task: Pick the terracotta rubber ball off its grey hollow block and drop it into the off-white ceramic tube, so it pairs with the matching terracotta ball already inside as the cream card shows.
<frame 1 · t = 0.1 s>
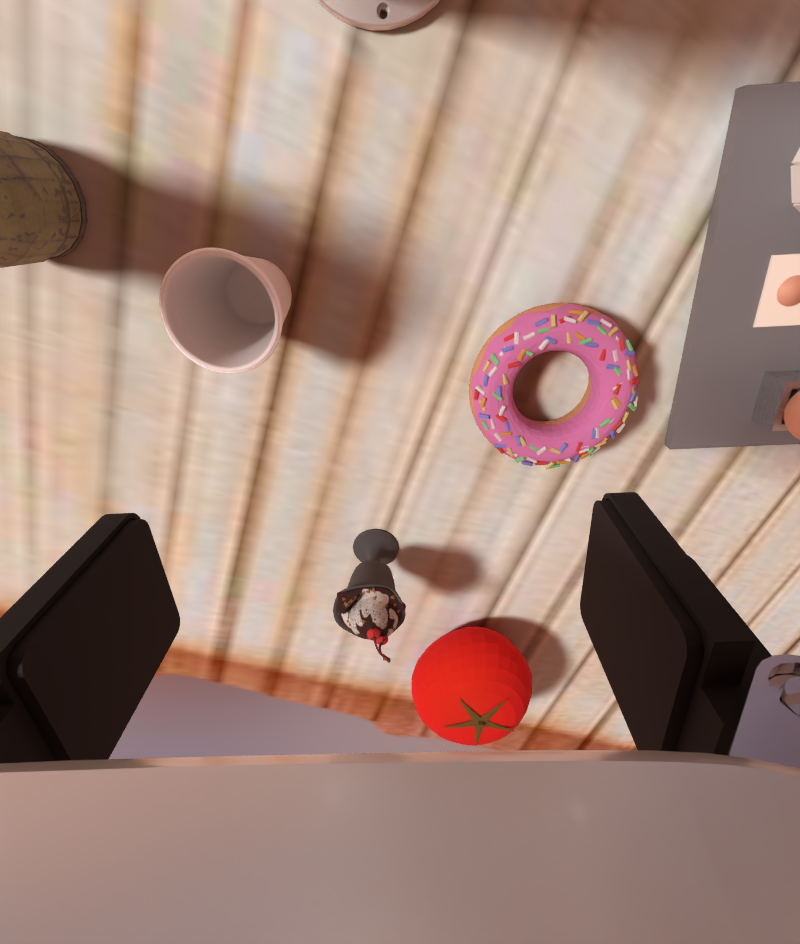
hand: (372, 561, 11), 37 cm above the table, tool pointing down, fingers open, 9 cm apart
tomato: (466, 649, 63), on the table
dixie cup: (259, 292, 44), on the table
sundae: (376, 546, 56), on the table
donut: (544, 379, 47), on the table
olive tall column: (31, 200, 41), on the table
grey hollow block: (782, 394, 46), resting on board
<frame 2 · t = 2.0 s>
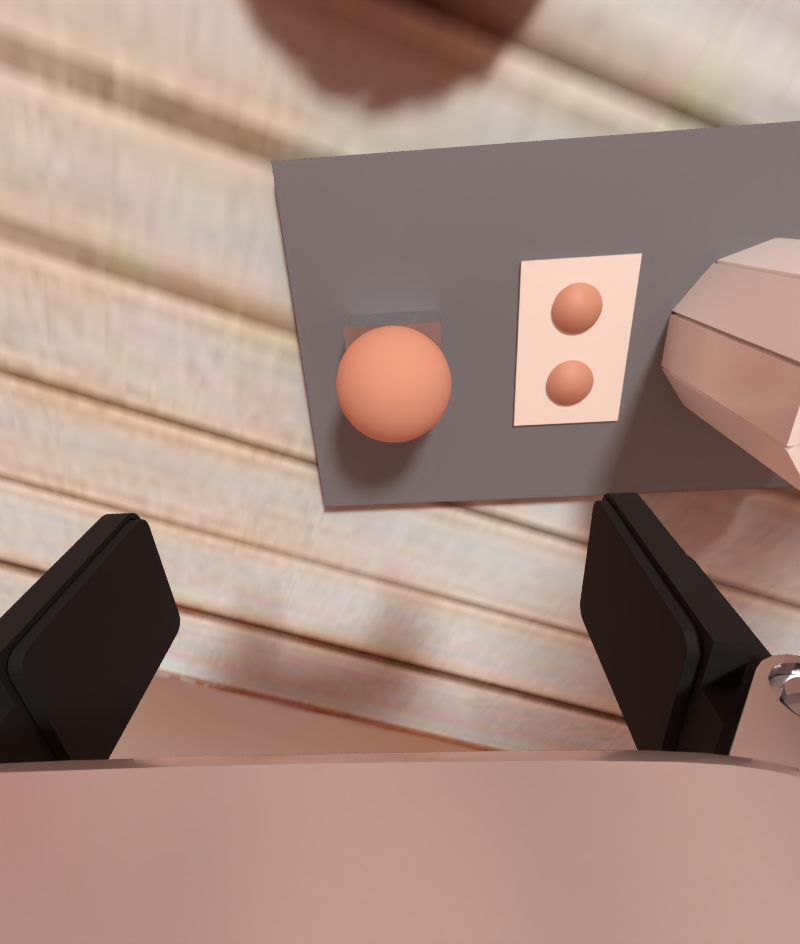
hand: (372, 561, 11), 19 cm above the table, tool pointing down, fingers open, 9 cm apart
ball: (393, 385, 22), point 6 cm above the table, touching grey hollow block
tube: (752, 335, 26), resting on board
board: (565, 340, 27), on the table
grey hollow block: (396, 355, 26), resting on board
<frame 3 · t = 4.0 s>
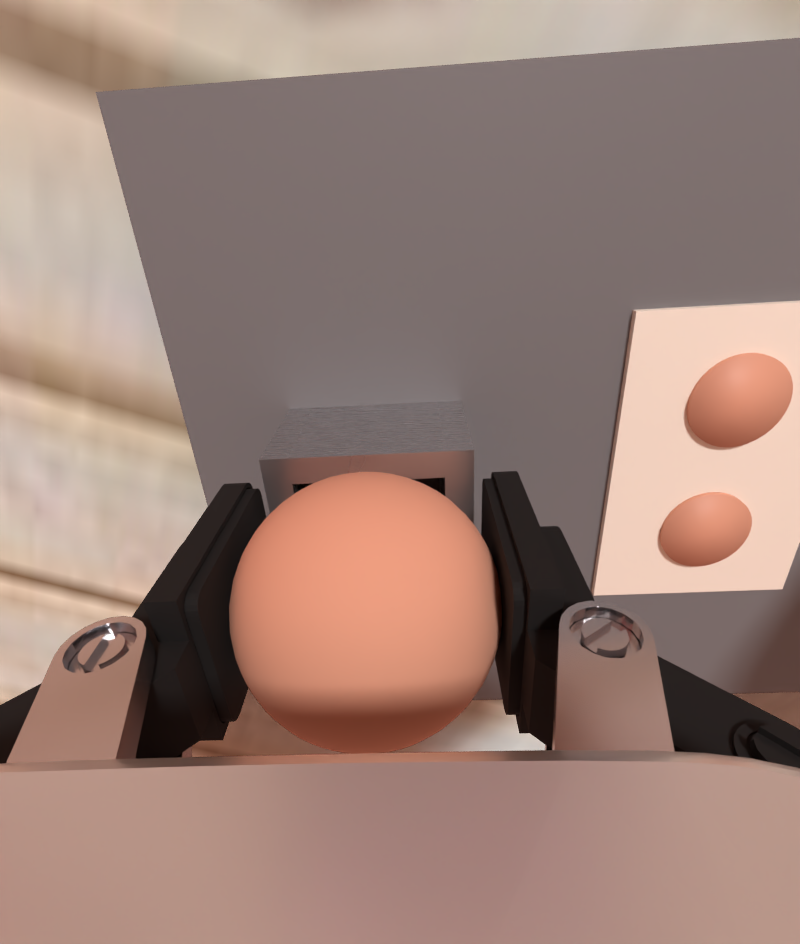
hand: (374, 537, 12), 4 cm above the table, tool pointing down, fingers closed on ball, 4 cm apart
ball: (368, 603, 10), point 6 cm above the table, touching gripper, grey hollow block
board: (692, 447, 15), on the table
grey hollow block: (381, 480, 14), resting on board
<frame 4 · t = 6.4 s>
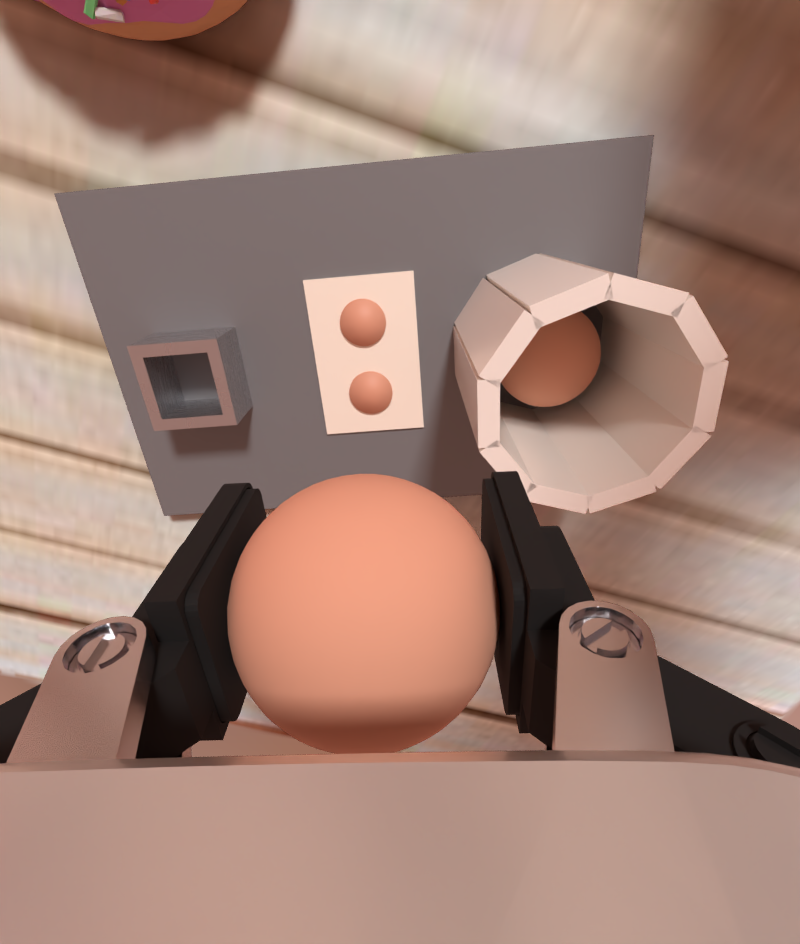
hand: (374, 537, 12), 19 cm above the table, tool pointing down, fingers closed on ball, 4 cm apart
ball: (366, 605, 10), point 21 cm above the table, touching gripper
tube ball: (546, 355, 25), point 4 cm above the table, touching board
tube: (534, 344, 27), resting on board
board: (368, 352, 29), on the table
grey hollow block: (205, 370, 28), resting on board
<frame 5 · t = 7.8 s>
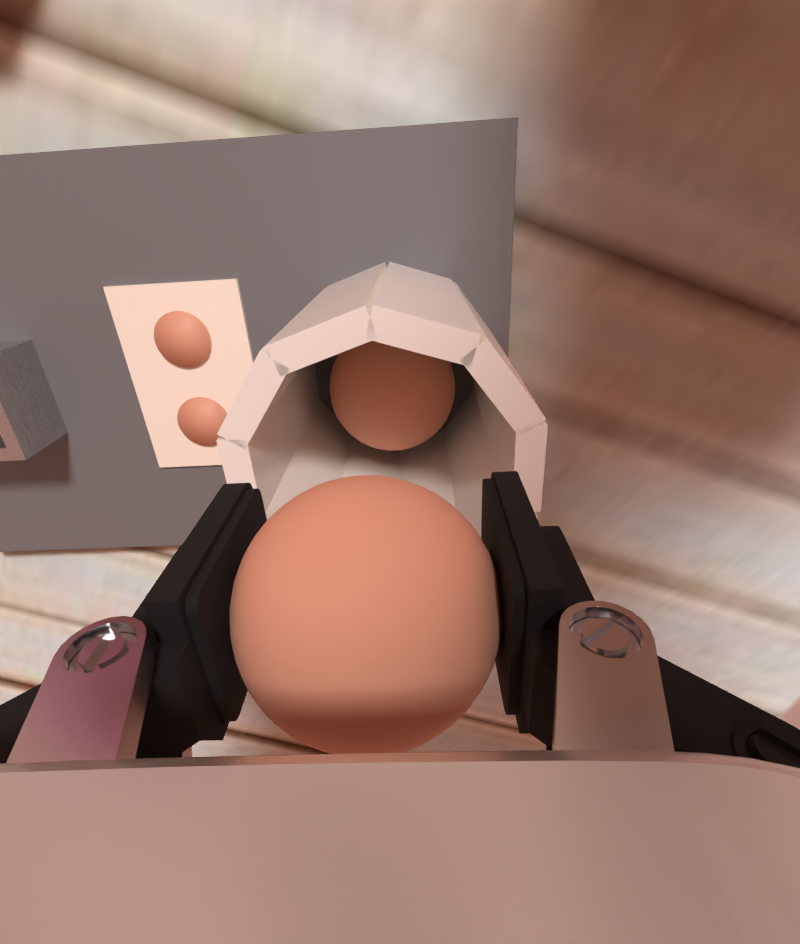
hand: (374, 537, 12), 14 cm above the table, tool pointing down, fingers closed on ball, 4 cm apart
ball: (368, 606, 10), point 16 cm above the table, touching gripper
tube ball: (392, 388, 20), point 4 cm above the table, touching board
tube: (394, 370, 23), resting on board
board: (205, 372, 24), on the table
grey hollow block: (4, 390, 23), resting on board
when the fingers open (13 cm above the table, at t = 8.7 s): ball drops 7 cm and tips over, resting on tube, tube ball.
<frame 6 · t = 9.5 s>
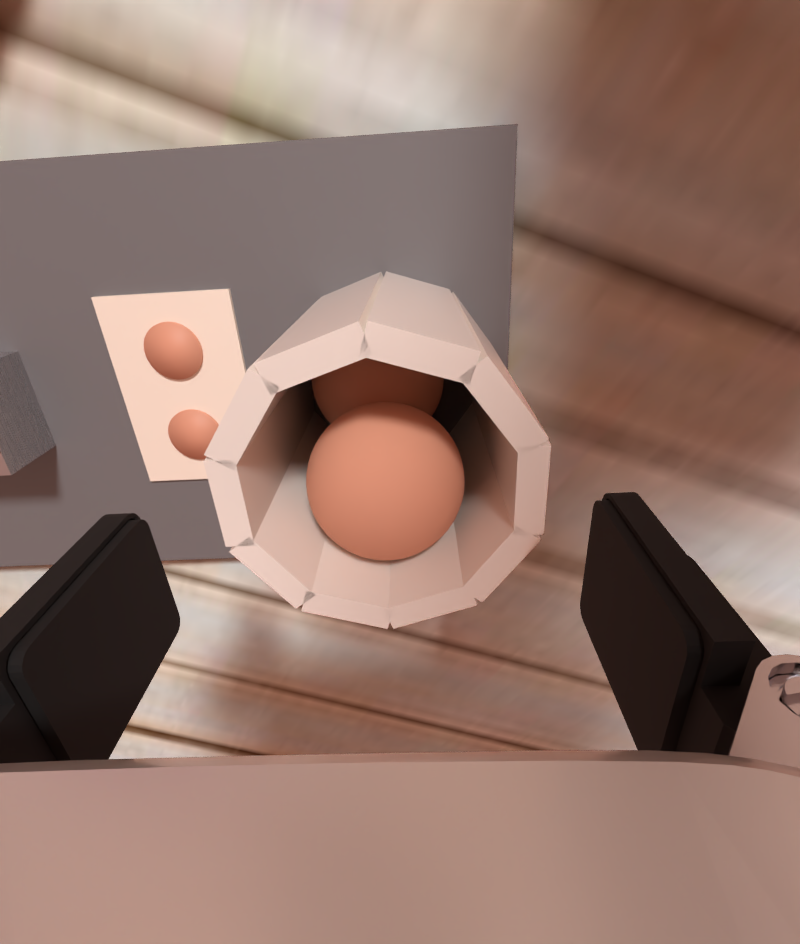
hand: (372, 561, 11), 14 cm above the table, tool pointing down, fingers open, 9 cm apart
ball: (385, 480, 16), point 8 cm above the table, tilted 68°, touching tube, tube ball
tube ball: (378, 378, 19), point 4 cm above the table, tilted 23°, touching ball, board, tube
tube: (391, 382, 22), resting on board
board: (197, 384, 23), on the table
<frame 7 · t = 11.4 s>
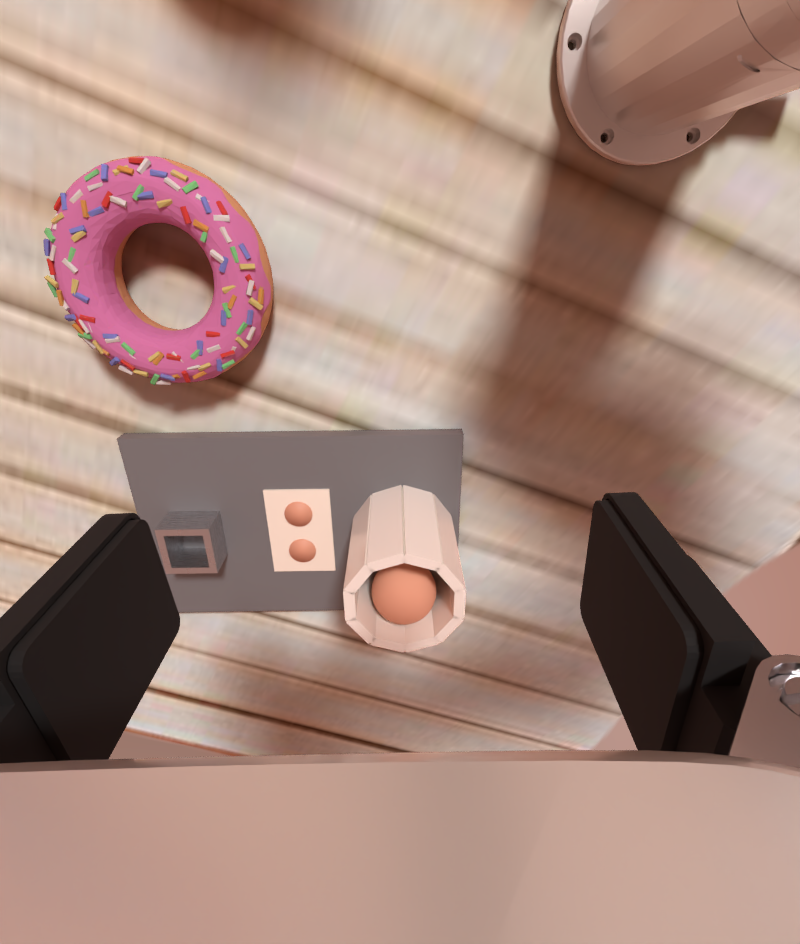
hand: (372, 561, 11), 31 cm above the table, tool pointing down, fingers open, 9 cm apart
ball: (403, 590, 39), point 8 cm above the table, tilted 68°, touching tube, tube ball
tube: (402, 529, 45), resting on board
donut: (181, 275, 37), on the table
board: (303, 523, 46), on the table
grey hollow block: (199, 532, 45), resting on board
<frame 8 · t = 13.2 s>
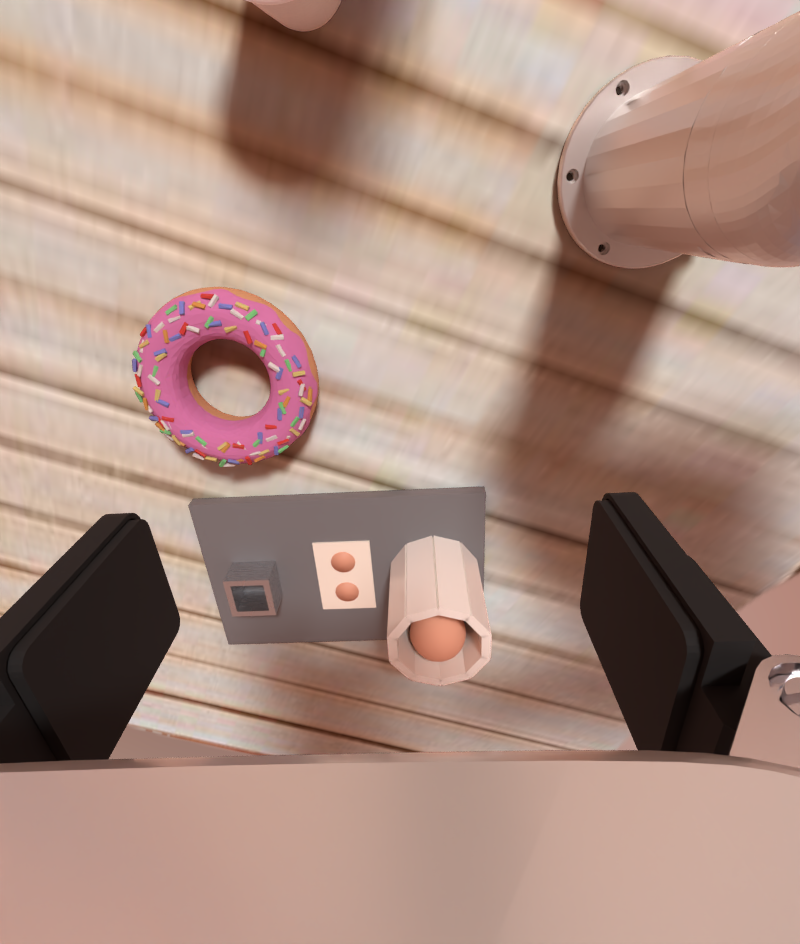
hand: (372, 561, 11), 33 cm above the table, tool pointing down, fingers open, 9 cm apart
ball: (437, 632, 45), point 8 cm above the table, tilted 68°, touching tube, tube ball
tube: (434, 572, 51), resting on board
donut: (239, 371, 44), on the table
board: (346, 568, 52), on the table
grey hollow block: (258, 578, 52), resting on board
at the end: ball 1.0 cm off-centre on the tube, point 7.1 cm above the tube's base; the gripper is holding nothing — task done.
